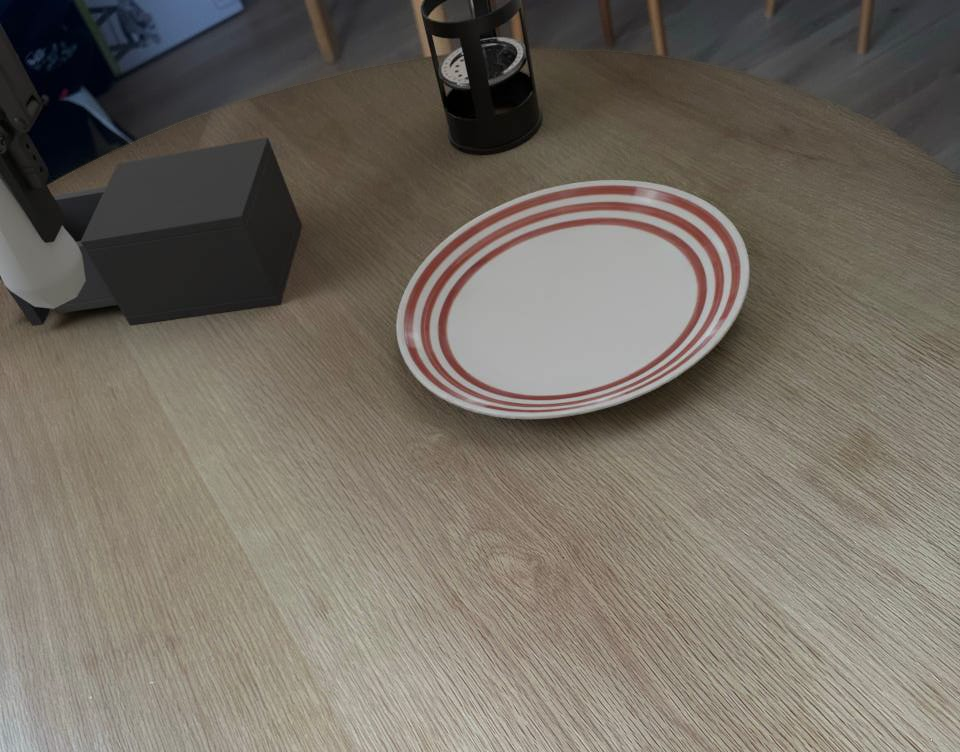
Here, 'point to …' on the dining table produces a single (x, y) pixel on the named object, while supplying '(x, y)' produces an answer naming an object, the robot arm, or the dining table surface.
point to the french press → (485, 79)
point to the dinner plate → (573, 299)
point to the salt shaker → (36, 258)
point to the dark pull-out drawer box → (94, 289)
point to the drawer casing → (195, 233)
